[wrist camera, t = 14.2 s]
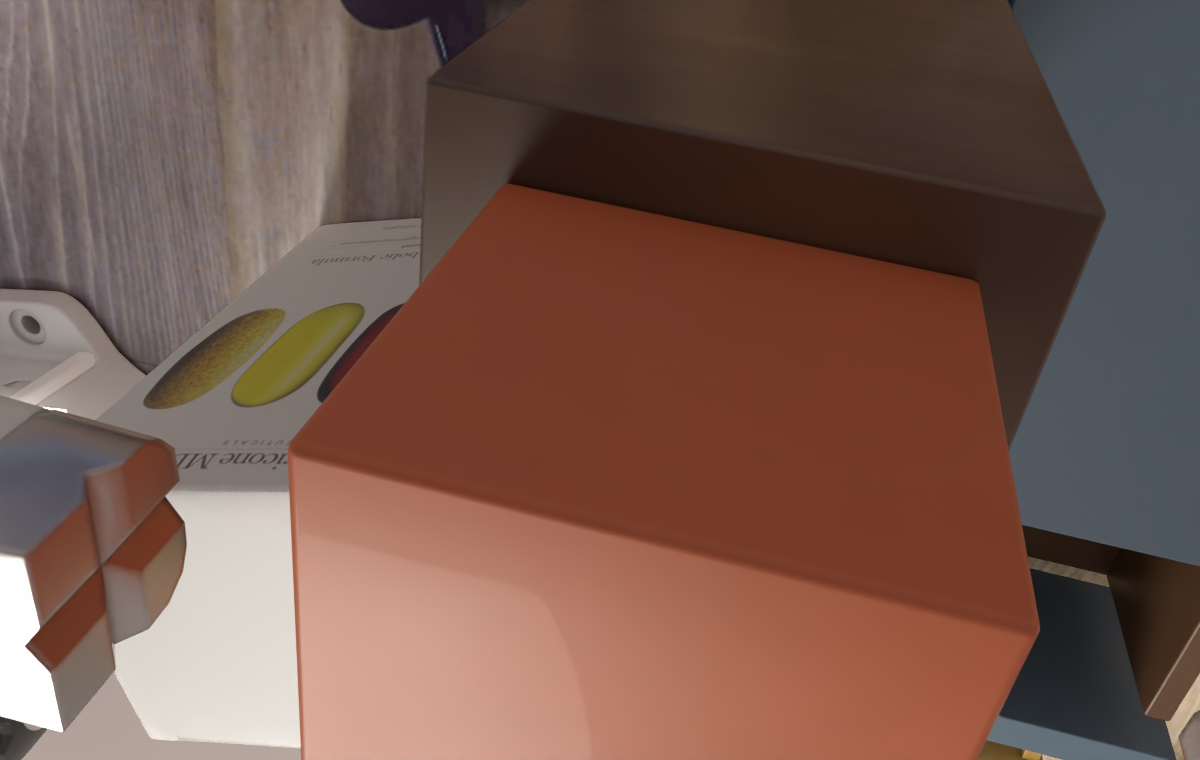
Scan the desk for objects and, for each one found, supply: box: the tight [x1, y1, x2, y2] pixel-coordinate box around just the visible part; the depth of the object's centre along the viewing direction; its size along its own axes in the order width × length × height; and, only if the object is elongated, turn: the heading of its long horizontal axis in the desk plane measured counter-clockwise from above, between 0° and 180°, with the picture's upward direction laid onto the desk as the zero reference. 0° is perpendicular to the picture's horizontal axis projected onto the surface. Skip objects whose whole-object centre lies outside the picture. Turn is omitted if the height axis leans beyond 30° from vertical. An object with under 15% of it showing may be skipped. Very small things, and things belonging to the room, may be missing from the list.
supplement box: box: [95, 218, 421, 748], centre depth 34 cm, size 10×9×17 cm
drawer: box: [977, 525, 1200, 760], centre depth 35 cm, size 18×11×8 cm, turn 173°
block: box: [288, 184, 1040, 760], centre depth 9 cm, size 4×4×4 cm
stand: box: [419, 0, 1106, 450], centre depth 21 cm, size 6×6×25 cm
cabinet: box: [1007, 0, 1200, 566], centre depth 29 cm, size 15×13×10 cm
